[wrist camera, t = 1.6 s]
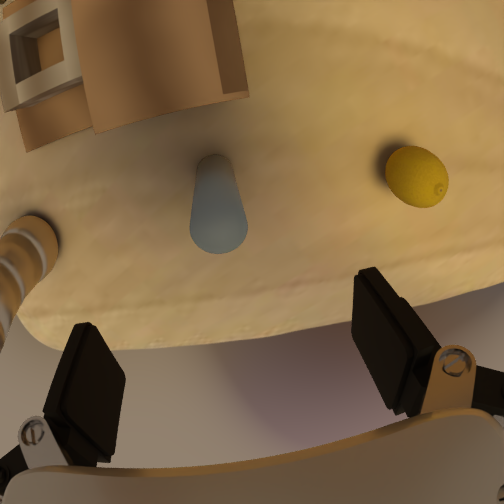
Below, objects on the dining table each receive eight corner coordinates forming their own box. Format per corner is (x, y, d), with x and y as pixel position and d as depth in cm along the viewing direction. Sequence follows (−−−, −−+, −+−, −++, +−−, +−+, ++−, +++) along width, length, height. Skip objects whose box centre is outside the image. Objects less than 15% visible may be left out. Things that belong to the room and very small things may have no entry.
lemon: (419, 143, 28) (469, 164, 22) (410, 191, 31) (454, 222, 24) (376, 135, 28) (423, 154, 21) (367, 187, 30) (409, 219, 23)
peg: (193, 158, 27) (183, 207, 17) (229, 151, 27) (242, 195, 17) (201, 191, 29) (197, 258, 18) (235, 184, 29) (251, 247, 18)
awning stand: (206, -66, 16) (207, -122, 7) (235, 94, 25) (249, 97, 16) (8, 6, 15) (-53, -6, 7) (33, 153, 24) (-27, 187, 15)
